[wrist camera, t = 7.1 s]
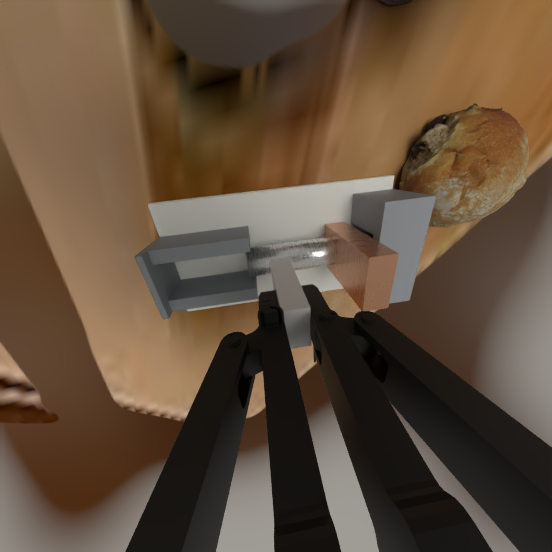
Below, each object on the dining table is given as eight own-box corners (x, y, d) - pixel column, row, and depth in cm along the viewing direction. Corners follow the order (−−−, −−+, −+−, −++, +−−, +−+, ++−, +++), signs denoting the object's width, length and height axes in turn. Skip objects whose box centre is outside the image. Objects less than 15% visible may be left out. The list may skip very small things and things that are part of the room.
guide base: (152, 202, 19) (112, 217, 14) (388, 174, 21) (440, 178, 15) (189, 306, 25) (172, 347, 19) (373, 279, 26) (406, 310, 21)
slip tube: (244, 234, 21) (242, 275, 13) (382, 216, 21) (458, 245, 14) (251, 273, 23) (253, 328, 15) (376, 256, 24) (439, 299, 16)
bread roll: (378, 215, 26) (421, 260, 22) (390, 127, 18) (463, 169, 13) (455, 181, 26) (517, 221, 21) (504, 73, 17) (625, 97, 13)
